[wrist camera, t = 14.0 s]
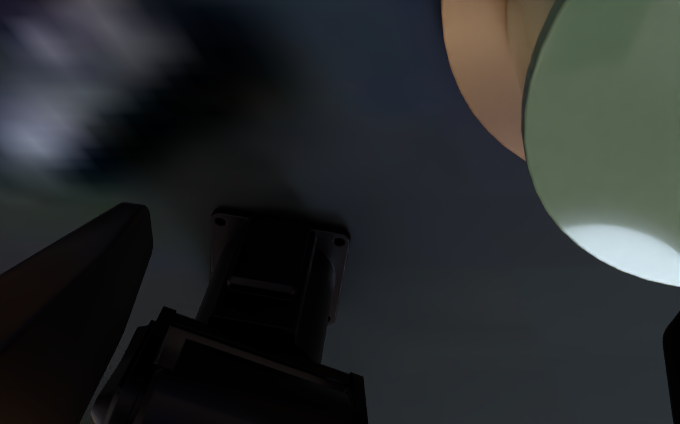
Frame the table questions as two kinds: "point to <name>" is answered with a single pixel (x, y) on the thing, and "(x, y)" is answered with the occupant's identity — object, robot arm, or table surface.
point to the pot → (604, 125)
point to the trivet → (485, 66)
